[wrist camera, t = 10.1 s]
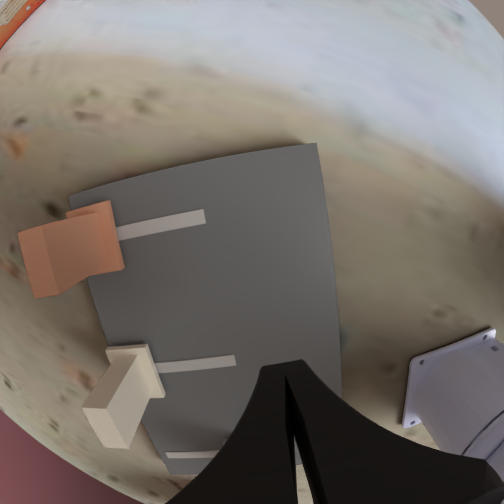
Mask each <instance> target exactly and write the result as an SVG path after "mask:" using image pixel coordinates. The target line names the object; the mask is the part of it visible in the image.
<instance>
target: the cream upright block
mask: <svg viewBox="0 0 504 504" xmlns="http://www.w3.org/2000/svg"><path fill="white" fill-rule="evenodd" d="M105 352H106V355H107V357H108V360H109V362H110V366H109V368H108V369H107V370H106V372H105V373H104V375H103V376H102V378H101V379H100V380H99V382H98V383H97V385H96V386H95V388H94V389H93V391H92V392H91V393H90V395H89V396H88V398H87V399H86V401H85V402H84V404H83V405H82V407H81V408H82V410H83V412H84V414H85V416H86V417H87V419H88V421H89V423H90V424H91V426H92V428H93V429H94V431H95V433H96V434H97V436H98V438H99V439H100V441H101V443H102V444H103V446H104V447H108V448H119V449H129V447H130V445H131V442H132V440H133V438H134V435H135V433H136V430H137V428H138V425H139V423H140V420H141V418H142V416H143V413H144V411H145V408H146V406H147V404H148V401H149V399H150V398H164V396H165V394H166V393H165V391H164V388H163V385H162V383H161V380H160V378H159V375H158V372H157V369H156V367H155V364H154V361H153V358H152V355H151V353H150V350H149V347H148V344H139V345H127V346H113V347H107V348H106V350H105Z"/></svg>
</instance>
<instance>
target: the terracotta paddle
mask: <svg viewBox="0 0 504 504" xmlns="http://www.w3.org/2000/svg"><path fill="white" fill-rule="evenodd" d="M66 218H67V219H65V220H60V221H56V222H52V223H48V224H44V225H40V226H37V227H34V228H30V229H27V230H24V231H21V232H18V238H19V242H20V247H21V251H22V255H23V259H24V263H25V267H26V271H27V274H28V278H29V282H30V285H31V288H32V292H33V295H34V298H41V297H48V296H54V295H60V294H61V293H63V292H64V291H66V290H68V289H69V288H71V287H72V286H74V285H75V284H77V283H79V282H80V281H82V280H83V279H85V278H87V277H88V276H91V275H96V274H102V273H107V272H113V271H119V270H123V269H124V268H125V265H124V261H123V257H122V253H121V249H120V245H119V240H118V236H117V231H116V226H115V222H114V217H113V212H112V206H111V201H110V200H109V201H104V202H100V203H97V204H93V205H90V206H86V207H82V208H79V209H76V210H72V211H69V212H66Z"/></svg>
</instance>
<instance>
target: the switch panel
mask: <svg viewBox="0 0 504 504" xmlns="http://www.w3.org/2000/svg"><path fill="white" fill-rule="evenodd" d="M109 200H110V201H111V206H112V212H113V217H114V222H115V226H116V231H117V236H118V240H119V245H120V249H121V253H122V257H123V261H124V265H125V268H124V269H123V270H119V271H113V272H107V273H102V274H96V275H91V276H88V277H87V281H88V284H89V288H90V291H91V294H92V298H93V301H94V304H95V307H96V311H97V314H98V317H99V320H100V323H101V326H102V328H103V331H104V334H105V337H106V340H107V342H108V345H109V347H113V346H127V345H139V344H148V347H149V350H150V353H151V355H152V358H153V361H154V364H155V367H156V369H157V372H158V375H159V378H160V380H161V383H162V385H163V388H164V391H165V393H166V394H165V396H164V398H150V399H149V401H148V404H147V406H146V408H145V411H144V413H143V416H142V418H141V421H142V423H143V425H144V427H145V429H146V431H147V433H148V435H149V437H150V439H151V441H152V442H153V444H154V446H155V448H156V450H157V452H158V453H159V455H160V457H161V459H162V460H163V462H164V464H165V465H166V467H167V469H168V471H169V472H170V474H199V473H200V472H201V471H202V470H203V469H204V468H205V467H206V466H207V465H208V464H209V462H210V461H211V460H212V459H213V458H214V457H215V455H216V454H217V453H218V452H219V450H220V449H221V448H222V446H223V439H228V438H229V436H230V435H231V433H232V432H233V430H234V429H235V427H236V425H237V423H238V422H239V420H240V418H241V416H242V414H243V413H244V411H245V409H246V407H247V404H248V402H249V400H250V398H251V395H252V393H253V391H254V388H255V385H256V382H257V379H258V376H259V371H260V369H261V367H262V366H266V365H272V364H278V363H284V362H289V361H295V360H300V359H303V360H304V361H306V363H307V364H308V365H309V367H310V368H311V369H312V370H313V372H314V373H315V374H316V375H317V376H318V377H319V378H320V379H321V380H322V381H323V382H324V383H325V384H326V385H327V386H328V387H329V388H330V389H331V390H332V391H333V392H334V393H335V394H336V395H337V396H339V397H340V398H341V399H342V373H341V350H340V332H339V317H338V304H337V292H336V281H335V271H334V261H333V252H332V244H331V235H330V227H329V220H328V212H327V205H326V198H325V192H324V185H323V179H322V173H321V166H320V161H319V155H318V149H317V144H316V143H310V144H302V145H294V146H287V147H280V148H273V149H266V150H260V151H253V152H247V153H242V154H236V155H230V156H225V157H219V158H214V159H209V160H204V161H199V162H194V163H190V164H185V165H181V166H176V167H172V168H167V169H163V170H159V171H155V172H151V173H147V174H143V175H139V176H135V177H131V178H127V179H123V180H120V181H116V182H113V183H109V184H106V185H102V186H99V187H95V188H92V189H89V190H85V191H82V192H79V193H76V194H72V195H69V202H70V207H71V211H72V210H76V209H79V208H82V207H86V206H90V205H93V204H97V203H100V202H104V201H109ZM294 443H295V462H296V465H300V464H302V461H301V457H300V454H299V451H298V447H297V444H296V441H295V437H294Z"/></svg>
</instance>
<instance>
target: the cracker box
mask: <svg viewBox="0 0 504 504" xmlns="http://www.w3.org/2000/svg"><path fill="white" fill-rule="evenodd" d="M44 1H45V0H0V48H1V47H2V46H3V45H4V44H5V42H6V41H7V40H8V39H9V38H10V37H11V35H12V34H13V33H14V32H15V31H16V30H17V29H18V28H19V26H20V25H21V24H22V23H23V22H24V21H25V20H26V19H27V18H28V17H29V16H30V15H31V14H32V13H33V12H34V11H35V10H36V9H37V8H38V7H39V6H40V5H41V4H42V3H43V2H44Z"/></svg>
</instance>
